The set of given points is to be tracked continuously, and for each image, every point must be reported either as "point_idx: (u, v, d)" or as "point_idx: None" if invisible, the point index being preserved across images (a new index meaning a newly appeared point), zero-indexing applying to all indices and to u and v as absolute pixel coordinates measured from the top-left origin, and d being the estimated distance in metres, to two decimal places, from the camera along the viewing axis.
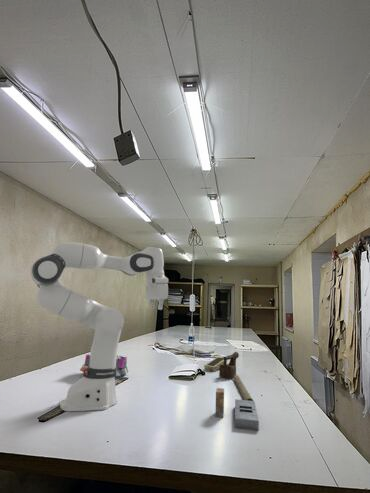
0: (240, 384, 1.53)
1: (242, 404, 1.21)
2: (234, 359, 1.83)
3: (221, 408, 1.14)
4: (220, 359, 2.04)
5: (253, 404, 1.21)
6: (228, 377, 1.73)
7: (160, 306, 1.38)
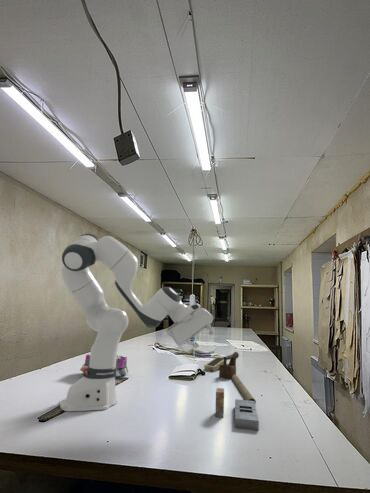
0: (240, 384, 1.53)
1: (242, 404, 1.21)
2: (234, 359, 1.83)
3: (221, 408, 1.14)
4: (220, 359, 2.04)
5: (253, 404, 1.21)
6: (228, 377, 1.73)
7: None
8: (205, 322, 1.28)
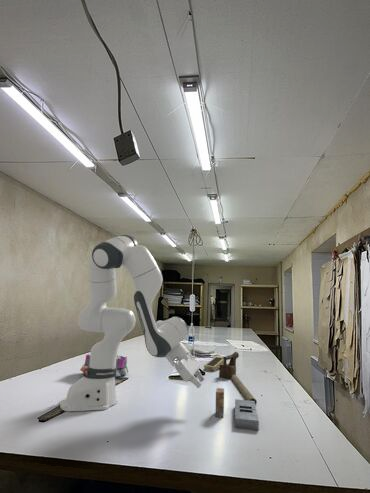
0: (240, 384, 1.53)
1: (242, 404, 1.21)
2: (234, 359, 1.83)
3: (221, 408, 1.14)
4: (219, 359, 2.04)
5: (253, 404, 1.21)
6: (228, 377, 1.73)
7: None
8: (197, 367, 1.25)
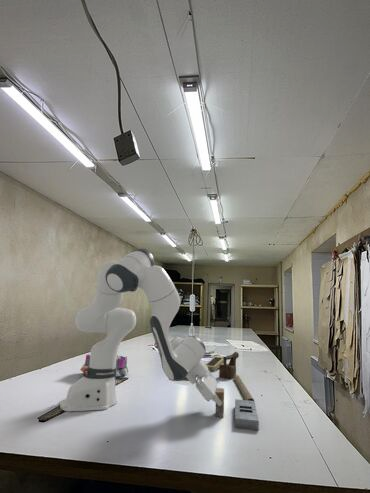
0: (241, 384, 1.53)
1: (242, 404, 1.21)
2: (234, 359, 1.83)
3: (221, 408, 1.14)
4: (218, 359, 2.05)
5: (253, 404, 1.21)
6: (228, 377, 1.73)
7: None
8: (215, 383, 1.24)
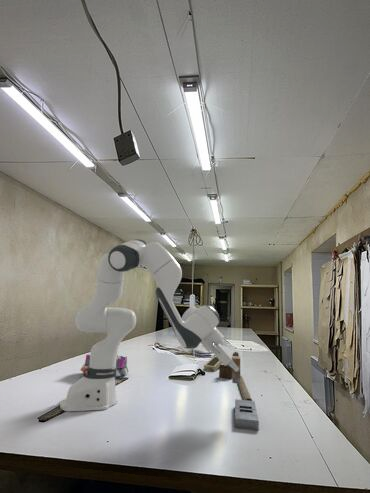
0: (242, 384, 1.53)
1: (242, 404, 1.21)
2: None
3: (238, 374, 1.14)
4: (217, 359, 2.05)
5: (253, 404, 1.21)
6: (228, 377, 1.73)
7: None
8: (231, 352, 1.23)
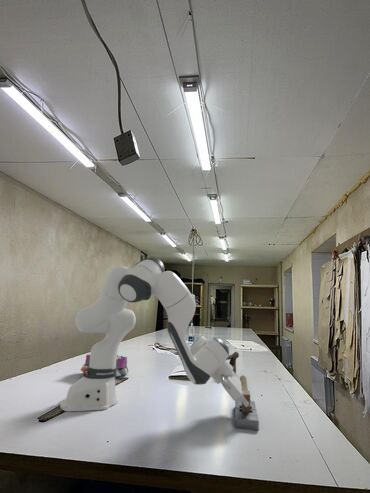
0: (243, 384, 1.53)
1: None
2: (234, 359, 1.83)
3: (248, 411, 1.13)
4: None
5: (253, 404, 1.21)
6: None
7: None
8: (240, 383, 1.22)
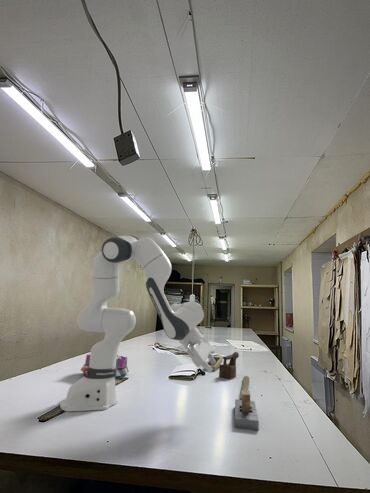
0: (244, 384, 1.53)
1: None
2: (234, 359, 1.83)
3: (248, 411, 1.13)
4: (216, 358, 2.06)
5: (253, 404, 1.21)
6: (228, 377, 1.73)
7: None
8: (209, 350, 1.27)
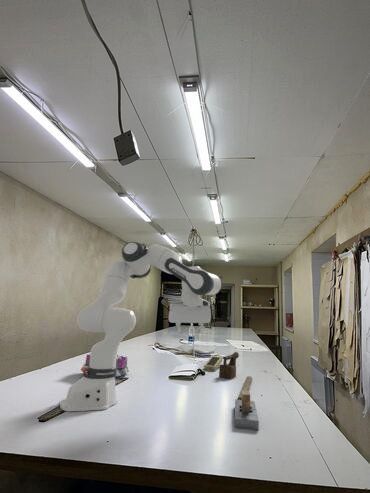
0: (244, 384, 1.53)
1: None
2: (234, 359, 1.83)
3: (248, 411, 1.13)
4: (216, 358, 2.06)
5: (253, 404, 1.21)
6: (228, 377, 1.73)
7: None
8: (201, 321, 1.35)
